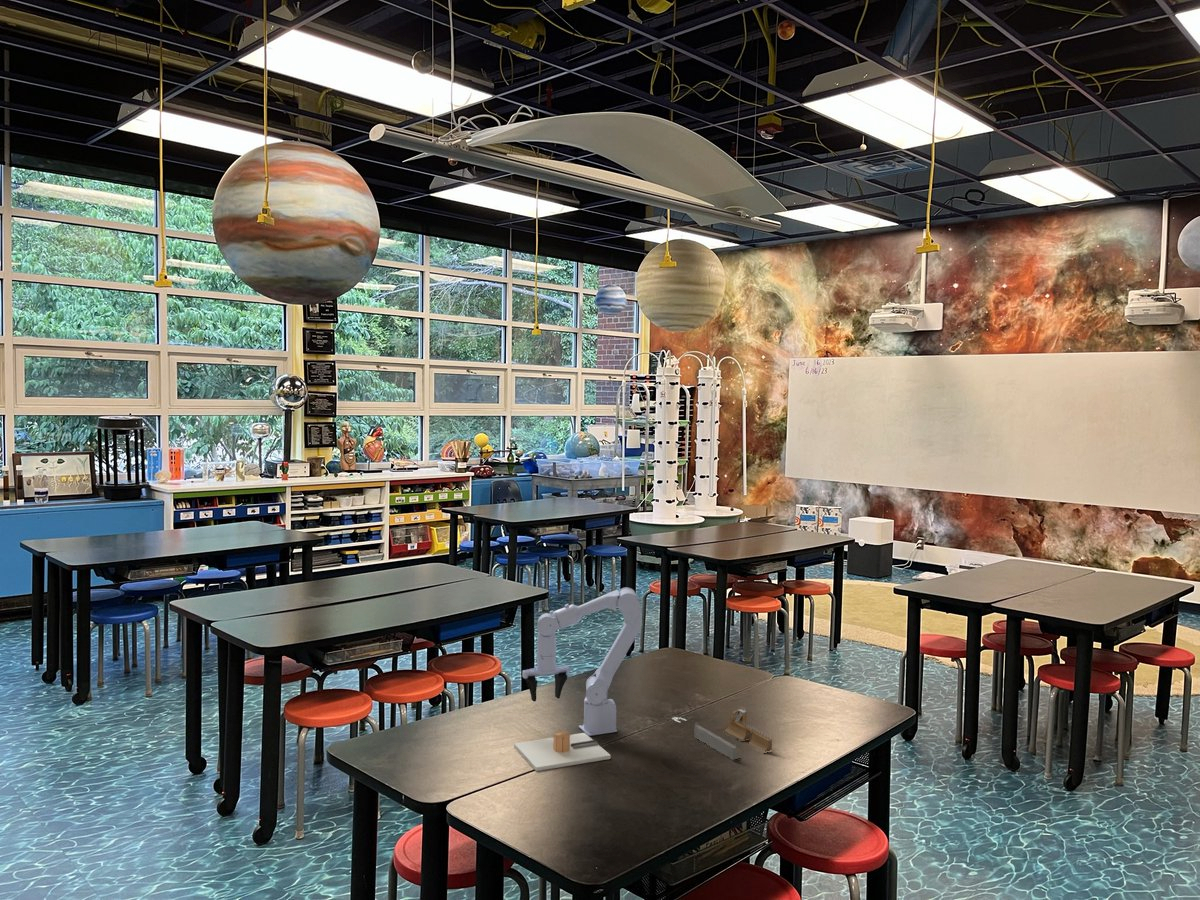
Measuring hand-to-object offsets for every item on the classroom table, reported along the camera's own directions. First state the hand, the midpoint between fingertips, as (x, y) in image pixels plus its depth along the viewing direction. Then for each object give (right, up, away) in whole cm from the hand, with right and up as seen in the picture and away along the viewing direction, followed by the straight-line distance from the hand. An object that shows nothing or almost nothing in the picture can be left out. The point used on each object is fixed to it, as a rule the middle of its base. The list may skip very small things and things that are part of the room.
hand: (545, 699), depth 252 cm
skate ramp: (+60, -12, -6) cm, 62 cm away
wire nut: (+6, -9, -17) cm, 20 cm away
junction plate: (+6, -10, -17) cm, 20 cm away
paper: (+41, -10, +16) cm, 45 cm away
